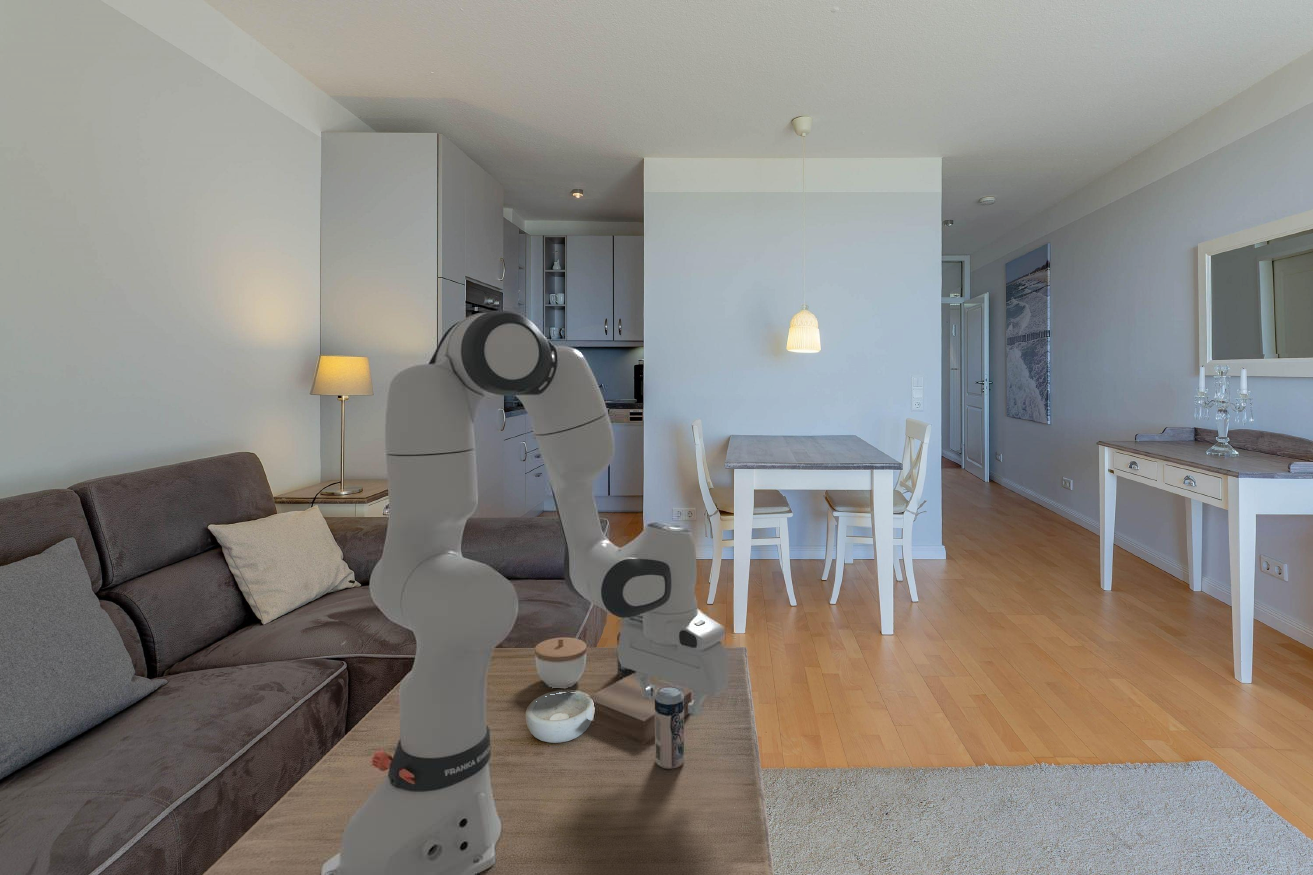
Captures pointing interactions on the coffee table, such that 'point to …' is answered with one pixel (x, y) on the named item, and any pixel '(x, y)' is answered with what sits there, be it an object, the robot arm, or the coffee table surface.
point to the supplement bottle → (622, 671)
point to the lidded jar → (560, 661)
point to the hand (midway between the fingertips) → (671, 705)
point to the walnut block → (630, 708)
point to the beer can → (669, 727)
